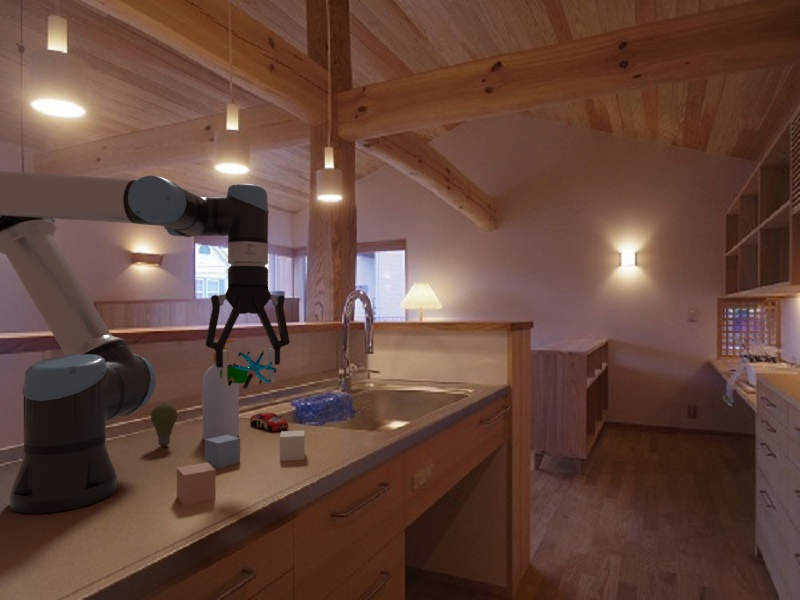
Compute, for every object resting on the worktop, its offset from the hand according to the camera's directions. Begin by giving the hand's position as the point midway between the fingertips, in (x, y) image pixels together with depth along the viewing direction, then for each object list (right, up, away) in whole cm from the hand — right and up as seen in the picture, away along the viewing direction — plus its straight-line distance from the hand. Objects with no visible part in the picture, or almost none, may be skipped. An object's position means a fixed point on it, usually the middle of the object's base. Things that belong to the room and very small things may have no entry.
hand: (248, 383), depth 100 cm
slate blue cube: (-7, -17, +6) cm, 20 cm away
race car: (-6, -18, +38) cm, 42 cm away
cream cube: (+6, -17, +10) cm, 21 cm away
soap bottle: (-15, -18, +28) cm, 37 cm away
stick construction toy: (0, -1, -2) cm, 2 cm away
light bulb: (-25, -18, +19) cm, 36 cm away
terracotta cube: (-5, -17, -14) cm, 22 cm away
